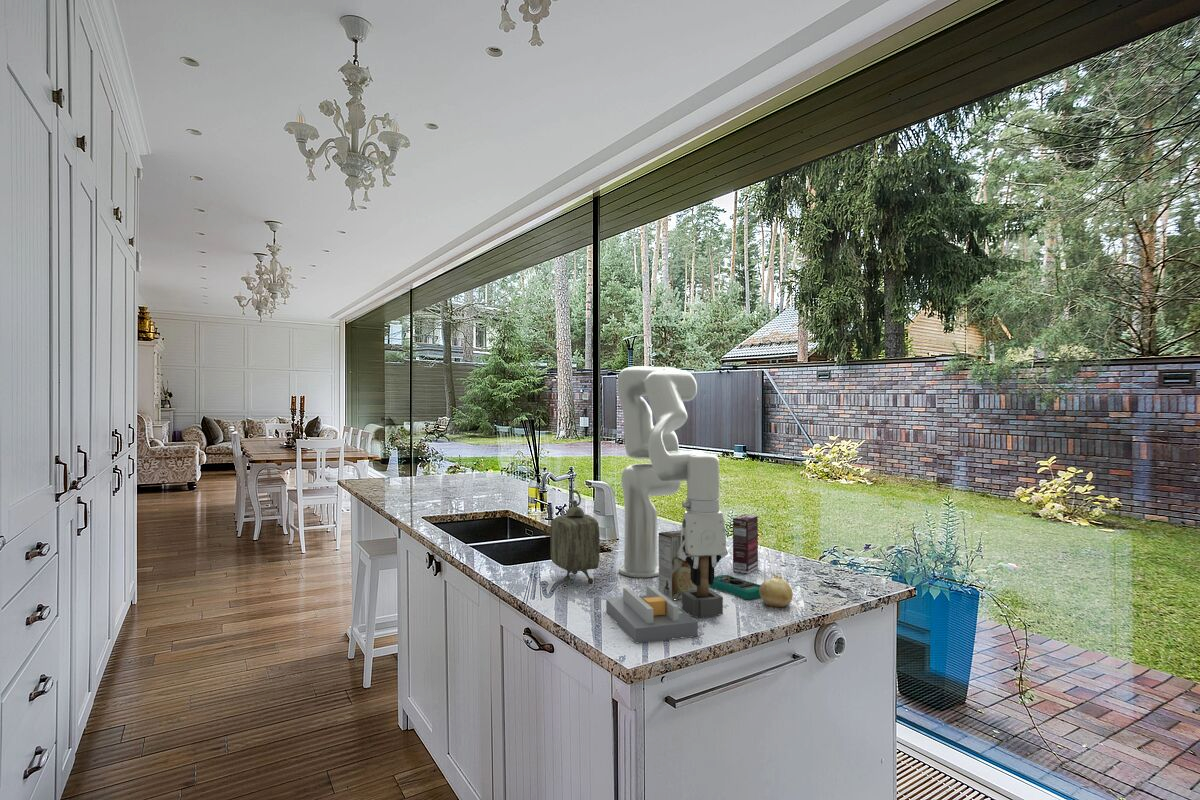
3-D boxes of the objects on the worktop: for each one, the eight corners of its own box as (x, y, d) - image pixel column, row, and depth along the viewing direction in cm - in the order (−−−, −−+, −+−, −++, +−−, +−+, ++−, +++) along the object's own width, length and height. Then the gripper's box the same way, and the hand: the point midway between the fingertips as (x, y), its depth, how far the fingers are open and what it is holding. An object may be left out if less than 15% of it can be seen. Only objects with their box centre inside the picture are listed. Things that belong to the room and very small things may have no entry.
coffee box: (686, 589, 164) (687, 528, 164) (701, 596, 158) (701, 533, 158) (657, 594, 159) (658, 532, 159) (671, 601, 154) (672, 536, 154)
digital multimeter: (725, 583, 171) (725, 572, 171) (768, 597, 159) (768, 585, 159) (706, 587, 167) (706, 576, 167) (748, 602, 155) (748, 590, 155)
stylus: (694, 605, 147) (694, 546, 147) (705, 604, 148) (705, 546, 148) (699, 609, 144) (700, 549, 144) (710, 608, 145) (710, 548, 145)
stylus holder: (680, 607, 149) (680, 591, 149) (709, 605, 151) (709, 588, 151) (694, 618, 141) (694, 600, 141) (724, 615, 144) (724, 598, 144)
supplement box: (743, 565, 188) (743, 513, 188) (758, 568, 185) (758, 515, 186) (731, 571, 181) (732, 517, 181) (747, 574, 178) (747, 519, 179)
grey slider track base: (606, 611, 145) (606, 586, 146) (661, 606, 150) (661, 581, 150) (635, 643, 126) (635, 613, 126) (697, 636, 130) (697, 607, 130)
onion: (799, 608, 149) (799, 578, 149) (770, 611, 147) (770, 581, 147) (780, 598, 157) (780, 570, 157) (753, 600, 155) (753, 572, 155)
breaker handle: (643, 611, 136) (643, 598, 136) (660, 610, 137) (660, 596, 137) (648, 616, 133) (648, 602, 133) (665, 614, 134) (665, 600, 135)
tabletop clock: (599, 585, 167) (600, 492, 167) (568, 589, 163) (569, 494, 163) (577, 572, 180) (578, 486, 180) (548, 575, 176) (549, 488, 176)
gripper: (677, 510, 140) (677, 591, 140) (741, 507, 145) (740, 585, 145) (664, 504, 148) (664, 582, 147) (725, 502, 152) (725, 576, 152)
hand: (702, 582), depth 146 cm, fingers closed on stylus, 2 cm apart
